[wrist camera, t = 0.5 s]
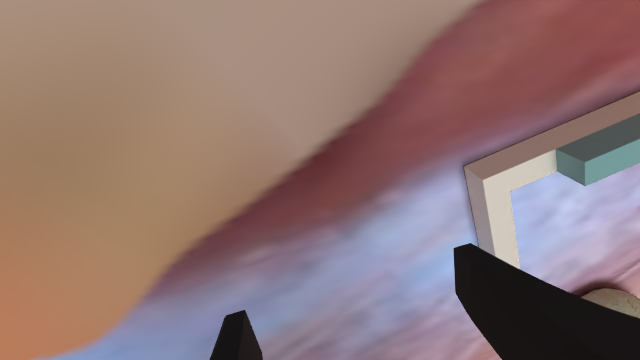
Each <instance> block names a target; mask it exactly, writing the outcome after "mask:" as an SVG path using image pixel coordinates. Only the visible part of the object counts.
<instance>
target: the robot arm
mask: <svg viewBox="0 0 640 360" xmlns="http://www.w3.org/2000/svg"><path fill="white" fill-rule="evenodd" d="M454 268H455V291H456V295H457V296H458V298H459V300H460V302H461V303H462V305H463V307H464V308H465V310H466V312H467V313H468V315H469V317H470V318H471V320H472V321H473V322H474V324H475V325H476V326H477V328H478V329H479V330H480V332H481V333H482V334H483V336H484V337H485V338H486V340H487V341H488V342H489V343H490V345H491V346H492V347H493V349H494V350H495V351H496V352H497V354H498V355H499V356H500V358H501V359H502V360H640V318H637V317H634V316H631V315H628V314H625V313H622V312H619V311H616V310H613V309H610V308H607V307H604V306H602V305H599V304H596V303H594V302H591V301H589V300H586V299H583V298H581V297H578V296H576V295H573V294H571V293H569V292H566V291H564V290H562V289H560V288H557V287H555V286H553V285H551V284H549V283H546V282H544V281H542V280H540V279H538V278H536V277H534V276H532V275H530V274H528V273H526V272H524V271H522V270H520V269H518V268H516V267H514V266H512V265H510V264H509V263H507V262H505V261H503V260H501V259H499V258H497V257H495V256H494V255H492V254H490V253H488V252H486V251H484V250H483V249H481V248H479V247H477V246H475V245H473V244H471V243H469V244H466V245H462V246H459V247H456V248H454ZM210 360H263V358H262V352H261V349H260V347H259V344H258V342H257V339H256V337H255V334H254V331H253V329H252V326H251V324H250V321H249V319H248V316H247V314H246V311H245V310H243V311H240V312H236V313H233V314H229V315H226V317H225V318H224V321H223V324H222V327H221V330H220V333H219V336H218V339H217V341H216V344H215V347H214V349H213V352H212V355H211V357H210Z"/></svg>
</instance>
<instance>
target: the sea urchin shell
mask: <svg viewBox="0 0 640 360" xmlns="http://www.w3.org/2000/svg"><path fill="white" fill-rule="evenodd" d="M581 298H583V299H586V300H589V301H591V302H594V303H596V304H599V305H602V306H604V307H607V308H610V309H613V310H616V311H619V312H622V313H625V314H628V315H631V316H634V317H637V318H640V299H639V298H637V297H636V296H634V295H633V294H630V293H629V292H624V291H622V290H615V289H609V288H607V289H606V288H603V289H598V290H593V291H590V292H589V293H588V294H586V295H584V296H581Z"/></svg>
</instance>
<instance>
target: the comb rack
mask: <svg viewBox="0 0 640 360" xmlns="http://www.w3.org/2000/svg"><path fill="white" fill-rule="evenodd" d="M638 163H640V91H639V92H637V93H635V94H632V95H630V96H628V97H625V98H623V99H621V100H618V101H616V102H614V103H611V104H609V105H607V106H604V107H602V108H599V109H597V110H595V111H592V112H590V113H588V114H585V115H583V116H581V117H578V118H576V119H574V120H571V121H569V122H567V123H564V124H562V125H560V126H557V127H555V128H553V129H550V130H548V131H546V132H543V133H541V134H539V135H536V136H534V137H531V138H529V139H527V140H524V141H522V142H520V143H517V144H515V145H513V146H510V147H508V148H506V149H503V150H501V151H499V152H496V153H494V154H492V155H489V156H487V157H485V158H482V159H480V160H478V161H475V162H473V163H471V164H468V165H466V166H464V171H465V176H466V181H467V187H468V192H469V197H470V202H471V207H472V212H473V217H474V223H475V228H476V233H477V238H478V243H479V248H481V249H483V250H484V251H486V252H488V253H490V254H492V255H494V256H495V257H497V258H499V259H501V260H503V261H505V262H507V263H509V264H510V265H512V266H514V267H516V268H518V269H520V265H519V257H518V249H517V242H516V234H515V226H514V219H513V211H512V204H511V196H510V191H512V190H514V189H517V188H519V187H521V186H524V185H526V184H528V183H531V182H533V181H535V180H538V179H540V178H542V177H545V176H547V175H549V174H552V173H554V172H556V171H558V172H559V173H561V174H563V175H565V176H567V177H569V178H571V179H573V180H575V181H576V182H578V183H580V184H582V185H584V186H587V185H589V184H591V183H594V182H596V181H598V180H601V179H603V178H605V177H608V176H610V175H612V174H615V173H617V172H619V171H622V170H624V169H626V168H628V167H631V166H633V165H635V164H638Z"/></svg>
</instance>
